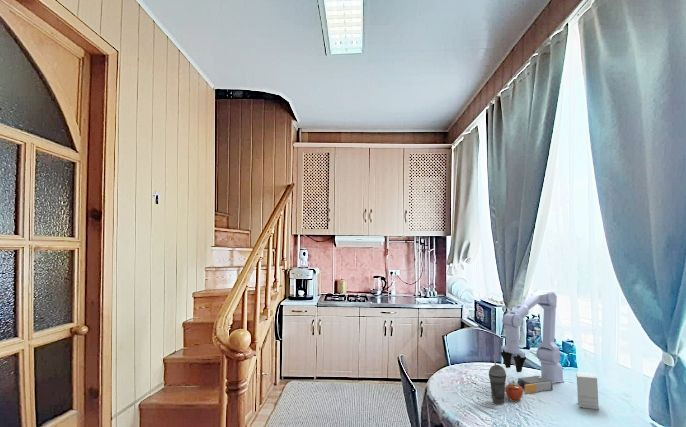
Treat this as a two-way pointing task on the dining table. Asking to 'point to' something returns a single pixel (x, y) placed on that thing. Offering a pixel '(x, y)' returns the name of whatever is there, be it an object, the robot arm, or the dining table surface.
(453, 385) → the dining table surface
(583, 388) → the supplement box
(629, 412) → the dining table surface
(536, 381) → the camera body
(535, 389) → the side door
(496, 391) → the beverage cup
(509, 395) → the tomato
